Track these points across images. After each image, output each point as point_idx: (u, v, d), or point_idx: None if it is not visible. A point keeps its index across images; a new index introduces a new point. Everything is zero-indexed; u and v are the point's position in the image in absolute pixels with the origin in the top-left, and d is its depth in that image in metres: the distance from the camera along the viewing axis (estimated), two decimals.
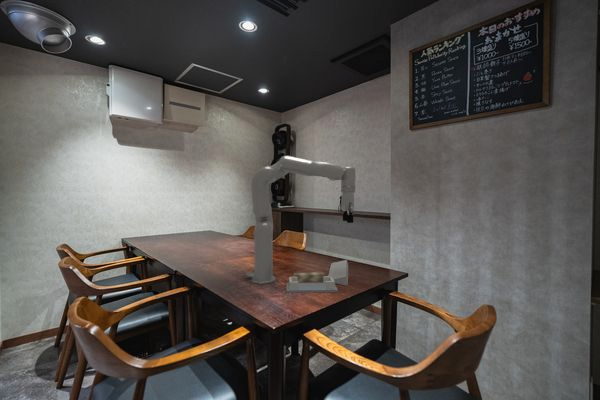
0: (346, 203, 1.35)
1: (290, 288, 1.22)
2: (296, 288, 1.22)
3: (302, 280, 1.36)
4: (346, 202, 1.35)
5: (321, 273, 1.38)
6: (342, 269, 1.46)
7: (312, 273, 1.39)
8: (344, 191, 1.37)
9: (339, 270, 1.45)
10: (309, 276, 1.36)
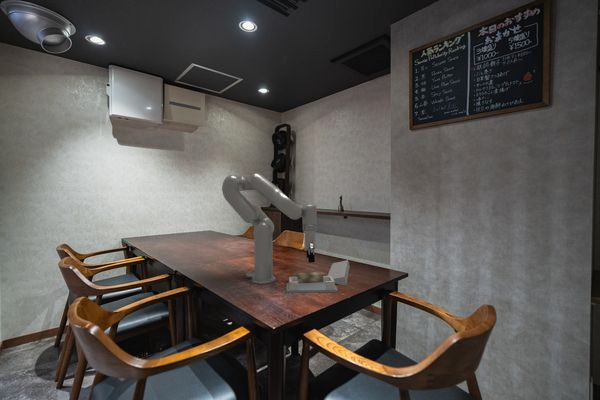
0: (307, 242, 1.33)
1: (290, 288, 1.22)
2: (296, 288, 1.22)
3: (302, 279, 1.36)
4: (307, 241, 1.33)
5: (321, 273, 1.38)
6: (342, 269, 1.46)
7: (312, 273, 1.39)
8: (305, 230, 1.35)
9: (339, 270, 1.45)
10: (309, 276, 1.36)
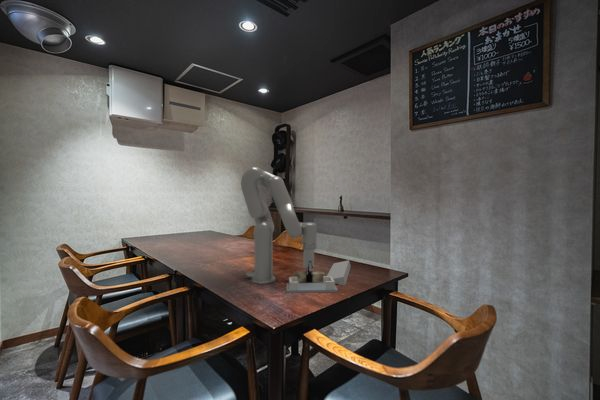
0: (306, 261, 1.33)
1: (290, 288, 1.22)
2: (296, 288, 1.22)
3: (302, 279, 1.36)
4: (306, 260, 1.33)
5: (321, 273, 1.38)
6: (342, 269, 1.45)
7: (312, 273, 1.38)
8: (304, 248, 1.35)
9: (339, 270, 1.45)
10: None
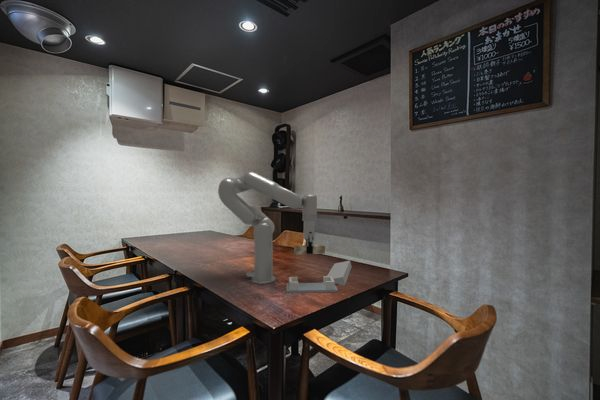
0: (306, 232, 1.32)
1: (290, 288, 1.22)
2: (296, 288, 1.22)
3: (302, 251, 1.35)
4: (306, 231, 1.32)
5: (322, 245, 1.37)
6: (342, 269, 1.45)
7: (313, 245, 1.38)
8: (305, 220, 1.34)
9: (339, 270, 1.45)
10: None
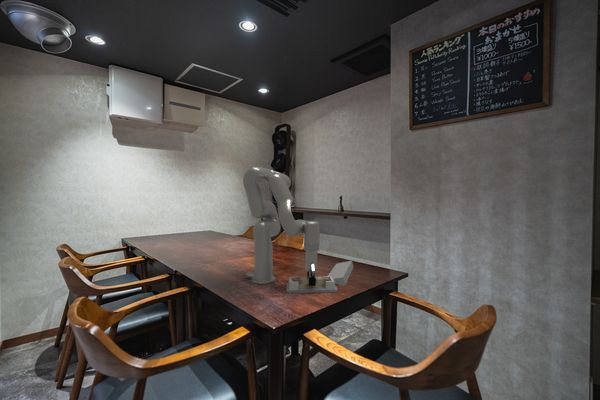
0: (308, 263, 1.21)
1: (290, 288, 1.22)
2: (296, 288, 1.22)
3: (304, 284, 1.24)
4: (308, 262, 1.21)
5: (326, 278, 1.26)
6: (343, 270, 1.45)
7: None
8: (306, 249, 1.24)
9: (340, 270, 1.45)
10: None
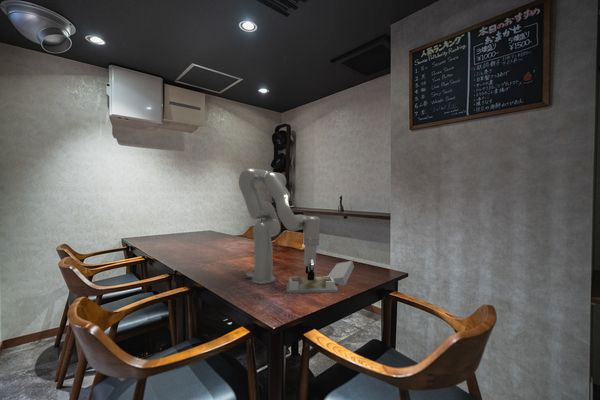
0: (307, 258, 1.22)
1: (290, 288, 1.22)
2: (296, 288, 1.22)
3: (304, 284, 1.24)
4: (307, 257, 1.22)
5: (326, 278, 1.26)
6: (343, 270, 1.45)
7: (315, 278, 1.27)
8: (306, 244, 1.24)
9: (340, 270, 1.45)
10: (312, 281, 1.25)
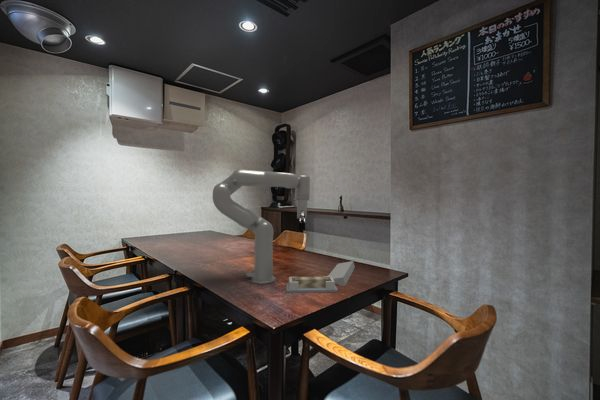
0: (298, 211, 1.38)
1: (290, 288, 1.22)
2: (296, 288, 1.22)
3: (304, 284, 1.24)
4: (298, 210, 1.38)
5: (326, 278, 1.26)
6: (344, 270, 1.45)
7: (315, 278, 1.27)
8: (297, 199, 1.40)
9: (340, 271, 1.45)
10: (312, 281, 1.25)
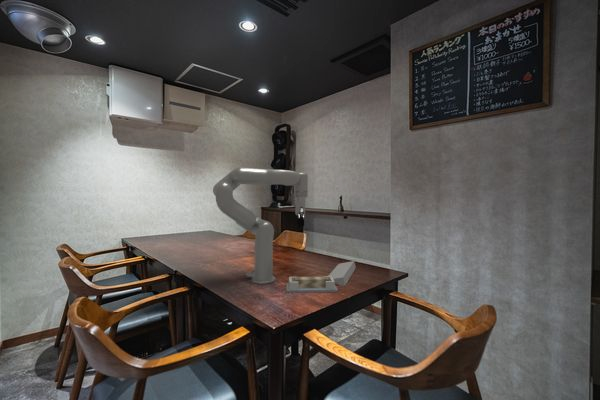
0: (297, 207, 1.42)
1: (290, 288, 1.22)
2: (296, 288, 1.22)
3: (304, 284, 1.24)
4: (297, 206, 1.42)
5: (326, 278, 1.26)
6: (344, 270, 1.45)
7: (315, 278, 1.27)
8: (296, 196, 1.44)
9: (341, 271, 1.44)
10: (312, 281, 1.25)
